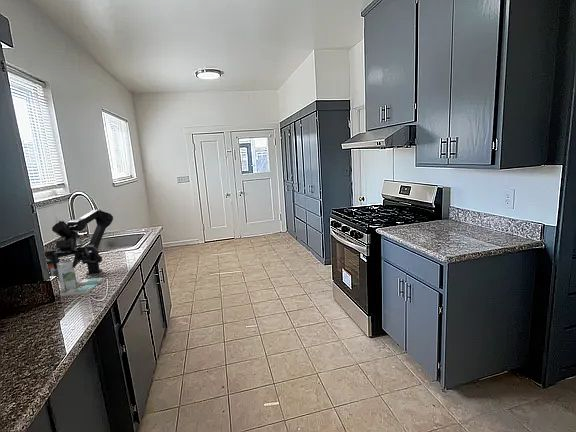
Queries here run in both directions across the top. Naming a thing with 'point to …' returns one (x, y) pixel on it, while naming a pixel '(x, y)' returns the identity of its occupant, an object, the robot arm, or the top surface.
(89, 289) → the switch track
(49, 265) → the supplement bottle
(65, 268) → the syrup box
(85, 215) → the robot arm
